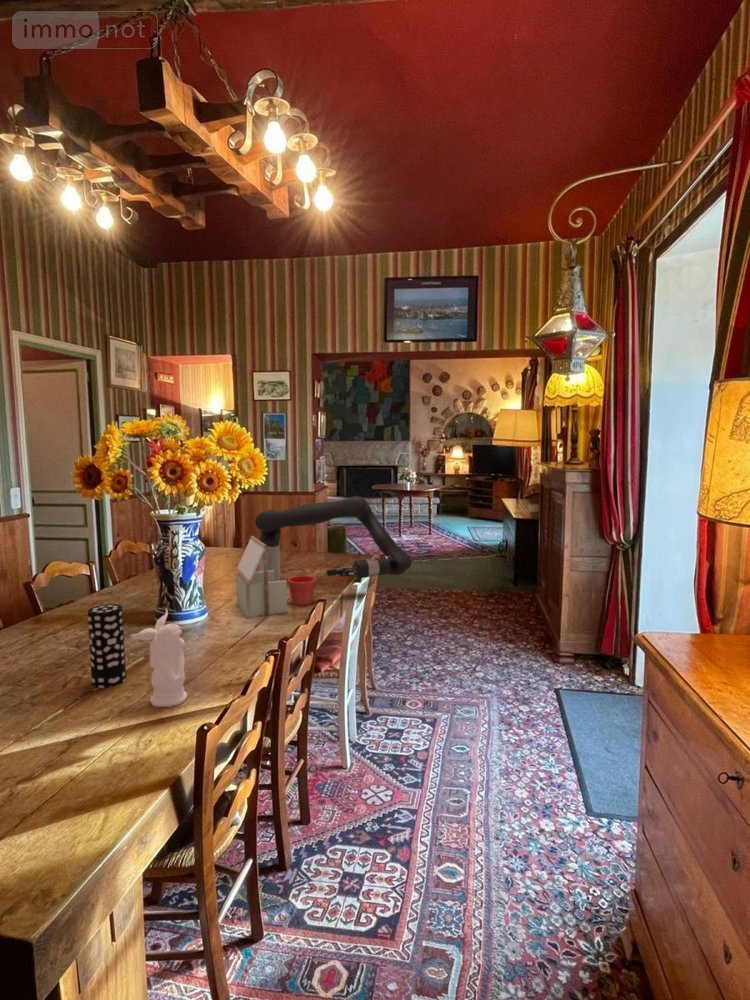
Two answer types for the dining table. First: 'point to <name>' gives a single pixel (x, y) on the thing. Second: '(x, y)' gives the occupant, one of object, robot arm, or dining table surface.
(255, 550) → the lid
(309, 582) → the flower pot
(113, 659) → the white-spotted black cylinder
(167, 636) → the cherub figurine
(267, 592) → the prop stick
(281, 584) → the cold frame
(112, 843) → the dining table surface
